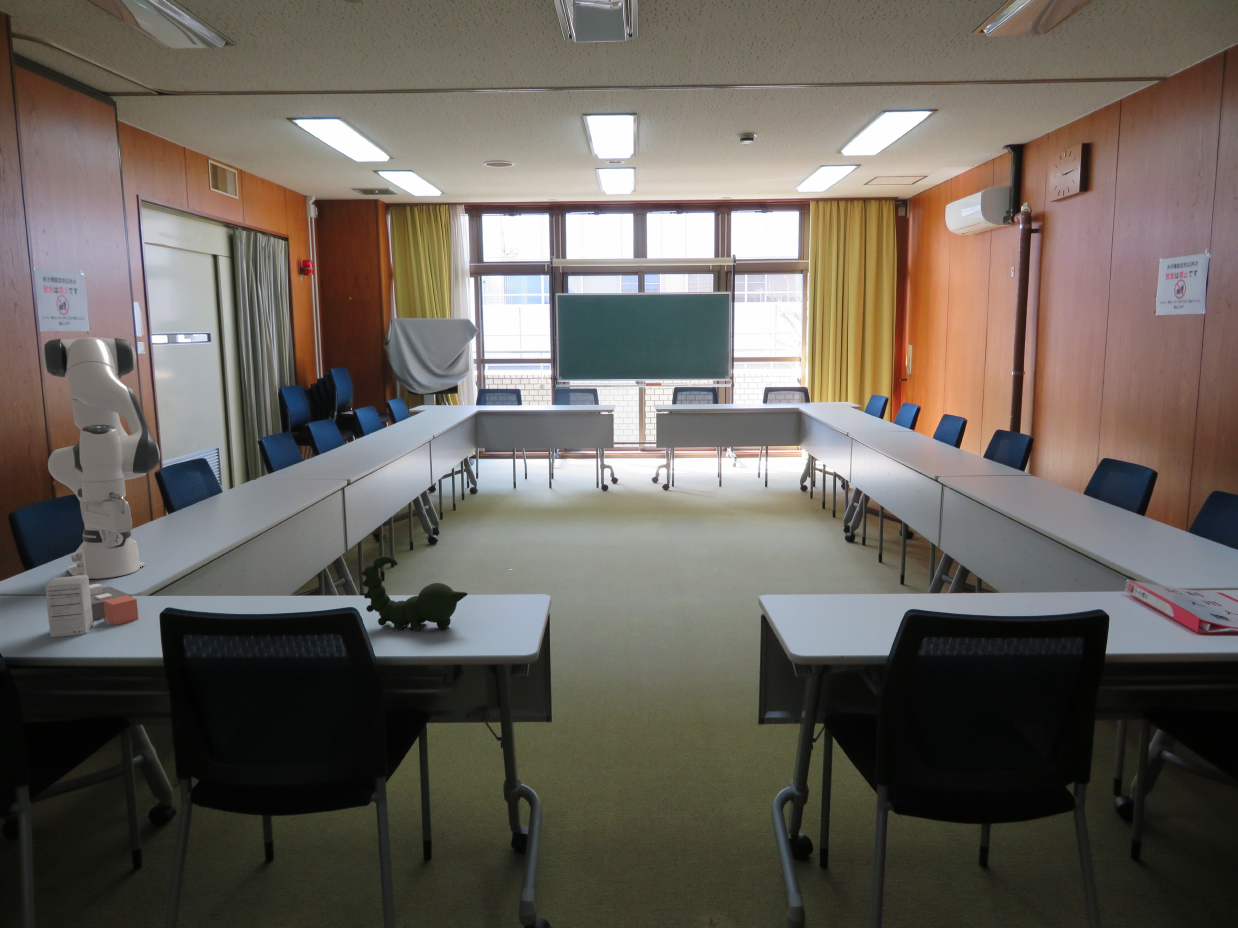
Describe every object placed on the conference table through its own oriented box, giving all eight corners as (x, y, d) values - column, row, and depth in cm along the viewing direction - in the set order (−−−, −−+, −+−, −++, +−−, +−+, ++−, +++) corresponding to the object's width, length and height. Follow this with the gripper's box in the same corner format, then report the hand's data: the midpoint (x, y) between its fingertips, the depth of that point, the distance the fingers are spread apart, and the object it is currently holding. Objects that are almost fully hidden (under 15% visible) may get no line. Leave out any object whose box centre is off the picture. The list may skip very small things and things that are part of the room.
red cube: (105, 620, 198) (103, 600, 198) (128, 614, 203) (126, 595, 202) (114, 625, 195) (112, 604, 194) (138, 619, 199) (136, 599, 199)
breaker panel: (68, 610, 206) (66, 594, 205) (110, 600, 214) (109, 585, 213) (89, 620, 198) (87, 603, 198) (132, 610, 206) (131, 593, 206)
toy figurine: (364, 639, 190) (465, 633, 188) (353, 562, 188) (456, 555, 185) (379, 625, 200) (476, 620, 197) (369, 552, 197) (467, 545, 194)
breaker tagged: (96, 611, 204) (94, 595, 203) (109, 607, 206) (107, 593, 206) (101, 613, 202) (99, 598, 202) (114, 610, 205) (112, 595, 204)
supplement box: (58, 627, 193) (53, 577, 192) (94, 624, 196) (89, 574, 194) (49, 637, 187) (43, 585, 185) (86, 633, 189) (81, 582, 187)
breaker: (85, 601, 207) (84, 586, 207) (98, 598, 210) (97, 583, 209) (90, 603, 206) (89, 588, 205) (103, 600, 208) (102, 585, 207)
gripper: (137, 493, 192) (141, 549, 193) (101, 486, 204) (106, 539, 205) (108, 496, 187) (113, 554, 188) (73, 489, 199) (78, 544, 200)
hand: (109, 546), depth 197 cm, fingers closed
